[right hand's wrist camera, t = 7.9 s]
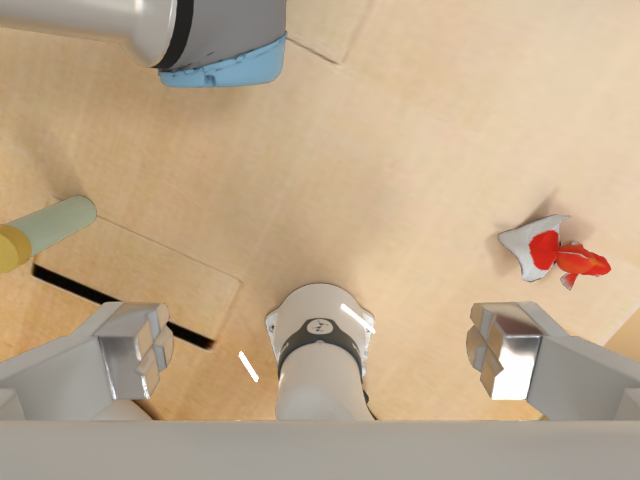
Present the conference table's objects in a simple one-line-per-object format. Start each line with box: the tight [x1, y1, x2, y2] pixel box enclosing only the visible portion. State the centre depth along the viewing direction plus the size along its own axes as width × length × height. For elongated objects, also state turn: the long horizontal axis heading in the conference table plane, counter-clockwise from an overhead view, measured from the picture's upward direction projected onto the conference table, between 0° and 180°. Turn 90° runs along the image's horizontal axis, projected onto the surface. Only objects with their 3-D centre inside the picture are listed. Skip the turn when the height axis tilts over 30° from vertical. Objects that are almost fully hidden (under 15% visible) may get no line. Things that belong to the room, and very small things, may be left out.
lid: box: [0, 225, 32, 273], centre depth 44 cm, size 5×5×2 cm
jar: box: [4, 196, 97, 257], centre depth 51 cm, size 5×5×16 cm
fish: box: [498, 215, 611, 290], centre depth 57 cm, size 11×16×10 cm
